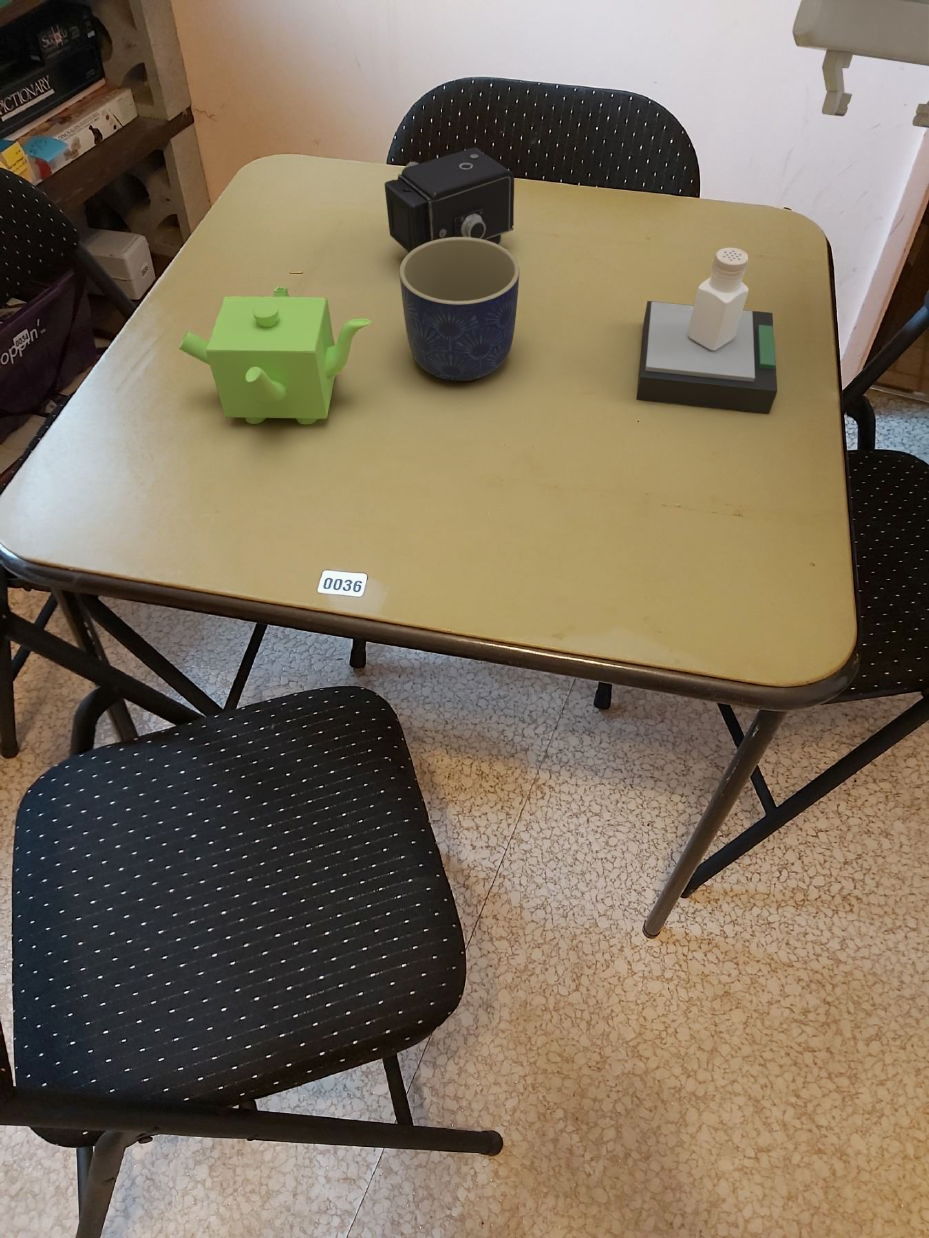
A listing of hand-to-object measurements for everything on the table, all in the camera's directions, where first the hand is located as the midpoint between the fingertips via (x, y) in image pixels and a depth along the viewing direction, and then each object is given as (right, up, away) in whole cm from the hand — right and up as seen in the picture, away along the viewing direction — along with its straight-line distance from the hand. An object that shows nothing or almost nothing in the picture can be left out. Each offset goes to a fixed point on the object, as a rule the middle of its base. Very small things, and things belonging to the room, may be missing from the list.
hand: (878, 121), depth 76 cm
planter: (-38, -16, +19) cm, 45 cm away
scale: (-11, -17, +17) cm, 27 cm away
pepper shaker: (-11, -15, +15) cm, 24 cm away
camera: (-39, +1, +32) cm, 51 cm away
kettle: (-57, -22, +14) cm, 63 cm away
